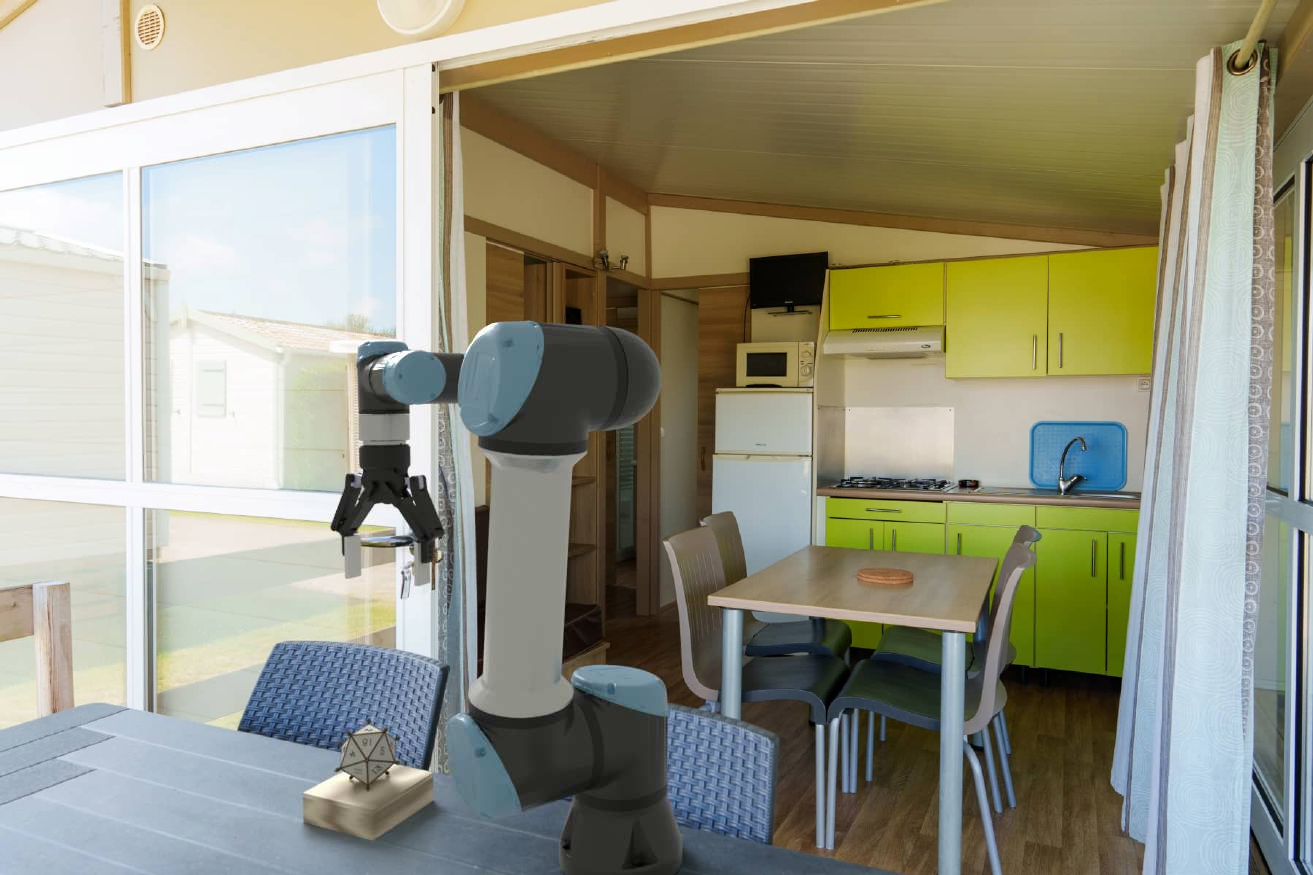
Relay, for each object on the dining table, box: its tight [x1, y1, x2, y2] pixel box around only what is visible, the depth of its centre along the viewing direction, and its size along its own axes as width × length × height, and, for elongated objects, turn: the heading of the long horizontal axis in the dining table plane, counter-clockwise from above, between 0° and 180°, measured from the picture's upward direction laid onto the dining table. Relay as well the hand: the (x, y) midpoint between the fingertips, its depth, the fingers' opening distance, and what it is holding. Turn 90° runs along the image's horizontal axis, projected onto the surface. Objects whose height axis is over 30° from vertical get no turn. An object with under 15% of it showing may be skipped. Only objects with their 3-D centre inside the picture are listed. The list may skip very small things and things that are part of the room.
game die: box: [333, 717, 401, 791], centre depth 116 cm, size 9×8×10 cm
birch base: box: [302, 763, 435, 841], centre depth 117 cm, size 12×12×4 cm
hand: (387, 580), depth 131 cm, fingers open, 13 cm apart
